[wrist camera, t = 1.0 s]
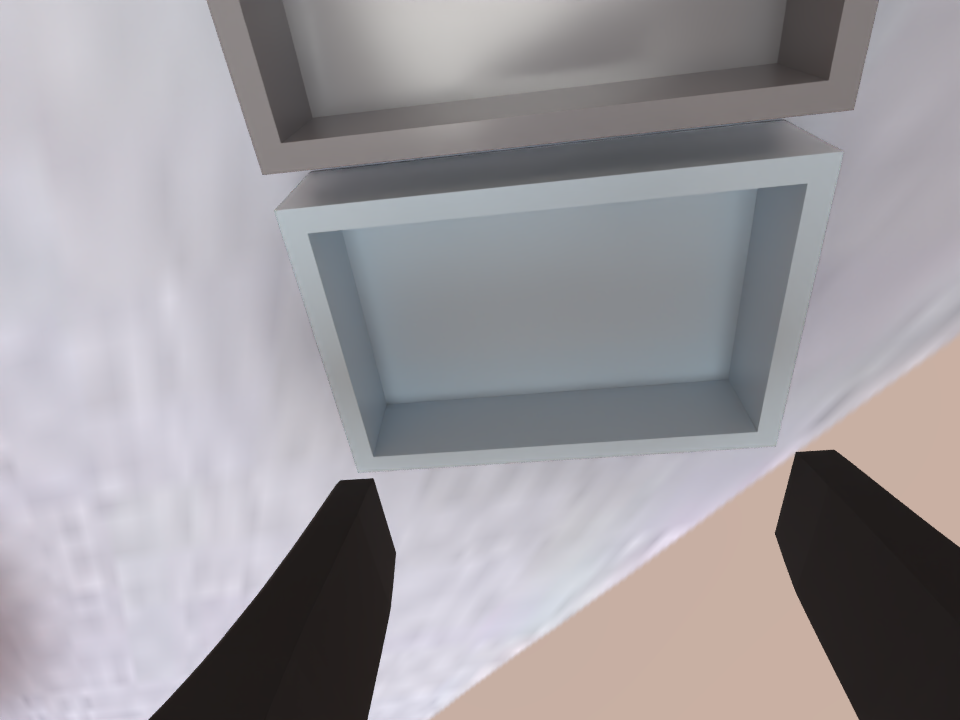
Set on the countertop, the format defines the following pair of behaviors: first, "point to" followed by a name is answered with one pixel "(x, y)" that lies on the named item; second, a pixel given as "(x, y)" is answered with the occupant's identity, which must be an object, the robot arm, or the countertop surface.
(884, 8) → the countertop surface
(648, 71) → the dish charcoal
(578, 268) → the dish blue
